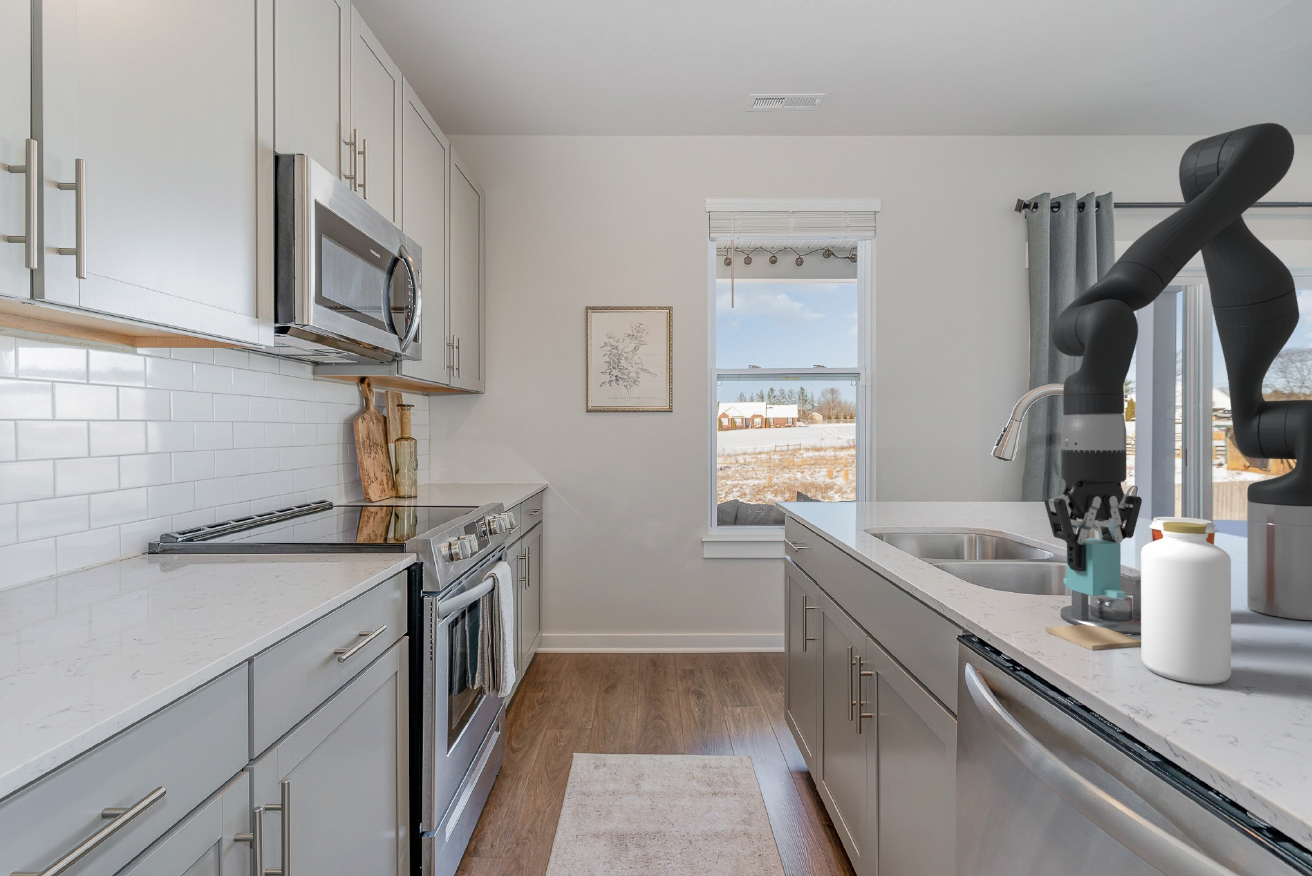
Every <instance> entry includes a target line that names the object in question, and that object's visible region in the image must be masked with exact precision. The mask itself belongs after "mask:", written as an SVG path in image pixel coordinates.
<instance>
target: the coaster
mask: <svg viewBox="0 0 1312 876" xmlns="http://www.w3.org/2000/svg"><path fill="white" fill-rule="evenodd" d="M1045 633H1048V634H1051V635H1054V636H1056V637H1059V638H1060V639H1064V640H1066V641H1068V642H1071V643H1073V644H1076V645H1078V646H1081V647H1083V648H1086V649H1088V650H1091V651H1094V650H1095V651H1098V650H1108V649H1110V650H1111V649H1119V647H1122V648H1129V647H1128V646H1134V647H1141V639H1139V638H1136V637H1132V636H1131V635H1124V634H1121V633H1118V632H1116V631H1113V630H1110V629H1107V628H1102V627H1096V626H1092V625H1087V624H1084V625H1074V624H1072V625H1061V626H1048V627H1047V626H1046V627H1045Z"/></svg>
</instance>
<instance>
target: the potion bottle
mask: <svg viewBox="0 0 1312 876" xmlns="http://www.w3.org/2000/svg"><path fill="white" fill-rule="evenodd" d="M1163 527H1164V529H1162V530H1161V532H1162V534H1163V539H1159V540H1156V541H1153V540H1152V541H1151V542H1148V543H1147V544H1145V545H1143V547H1142V548H1141V551H1140V576H1141V635H1140V640H1141V646H1140V651H1141V652H1140V654H1141V655H1140V656H1141V657H1140V659H1141V661H1142V663H1143V665H1144V667H1146V668H1147V669H1148V670H1149V671H1151V672H1152V673H1154V674H1156V675H1159V676H1161V677H1164V678H1167V679H1170V680H1173V681H1178V682H1181V683H1182V682H1183V683H1187V684H1196V685H1217V684H1221V683H1224V682H1226V681H1228V680H1229V678H1230V676H1231V675H1232V559H1231V555H1230V554H1228V552H1227V551H1225V550H1224V549H1222V548H1221V547H1219V546H1217V545H1215V544H1214V545H1213V544H1210V543H1208V542H1206V538H1207V537H1208V533H1207V532H1205V531H1206V528H1207V526H1206V525H1204V524H1198V523H1190V522H1163Z"/></svg>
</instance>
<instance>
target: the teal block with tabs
mask: <svg viewBox="0 0 1312 876" xmlns="http://www.w3.org/2000/svg"><path fill="white" fill-rule="evenodd" d="M1121 543H1122V542H1121ZM1121 543H1117V542H1111V541H1106V540H1102V539H1101V538H1095V537H1089V538H1086V542H1085V544H1083V545H1086V570H1085V571H1082V572H1079V571H1075V570H1072V569H1070V567H1069V565H1068V563H1067V562H1066V577H1063V584H1065V585H1066V589H1068V590H1071V591H1072V590H1074V591H1078V592H1081V593H1084V594H1088V596H1090V595H1091V596H1100V595H1105V596H1109V597H1112V598H1116V599H1121V598H1126V596H1127V595H1126V593H1127V592H1125V591H1123V590H1121V589H1122V588H1121V581H1122V580H1121V578H1122V577H1121V571H1122V570H1121V547H1122V546H1121Z"/></svg>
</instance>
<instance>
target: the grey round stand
mask: <svg viewBox="0 0 1312 876" xmlns="http://www.w3.org/2000/svg"><path fill="white" fill-rule="evenodd" d="M1124 581H1125V583H1127V584H1131V585H1132V597H1130V596H1129V595H1126V598H1121V599H1116V598H1112V597H1109V596H1105V595H1100V596H1091V595H1088V594H1084V593H1081V592H1078V591H1074V590H1071V605H1066V606H1063V607H1061V609H1060V618H1061V619H1062V620H1063V621H1065V622H1067V623H1069V624H1072V625H1084V624H1087V625H1092V626H1096V627H1102V628H1107V629H1110V630H1113V631H1116V632H1118V633H1121V634H1131V635H1130V636H1141V575H1140V576H1139V575H1138V576H1137V575H1136V576H1125V580H1124ZM1089 602H1090V604H1089Z"/></svg>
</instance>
